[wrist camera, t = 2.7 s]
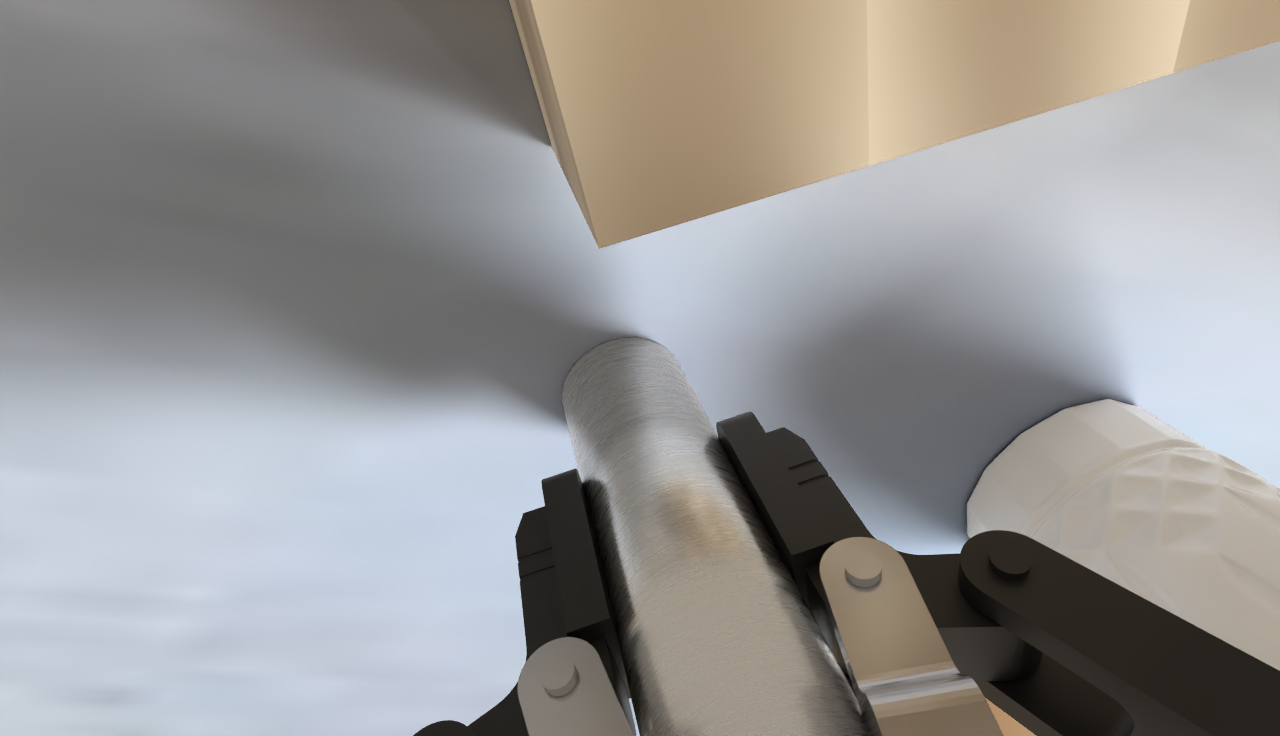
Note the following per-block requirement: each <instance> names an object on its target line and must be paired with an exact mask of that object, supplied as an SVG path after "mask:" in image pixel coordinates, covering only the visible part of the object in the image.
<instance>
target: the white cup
mask: <svg viewBox="0 0 1280 736" xmlns="http://www.w3.org/2000/svg"><path fill="white" fill-rule="evenodd" d="M991 530H1004V531H1011V532H1016V533H1020V534H1023V535H1025V536H1028V537H1030V538H1032V539H1034V540H1036V541H1038V542H1040V543H1041V544H1043V545H1045V546H1047V547H1049V548H1051V549H1053V550H1055V551H1056V552H1058V553H1060V554H1062V555H1064V556H1066V557H1068V558H1070V559H1071V560H1073V561H1075V562H1077V563H1079V564H1081V565H1083V566H1085V567H1086V568H1088V569H1090V570H1092V571H1094V572H1096V573H1098V574H1099V575H1101V576H1103V577H1105V578H1107V579H1109V580H1111V581H1113V582H1114V583H1116V584H1118V585H1120V586H1122V587H1124V588H1126V589H1128V590H1129V591H1131V592H1133V593H1135V594H1137V595H1139V596H1141V597H1143V598H1144V599H1146V600H1148V601H1150V602H1152V603H1154V604H1156V605H1158V606H1159V607H1161V608H1163V609H1165V610H1167V611H1169V612H1171V613H1173V614H1174V615H1176V616H1178V617H1180V618H1182V619H1184V620H1186V621H1188V622H1189V623H1191V624H1193V625H1195V626H1197V627H1199V628H1201V629H1203V630H1204V631H1206V632H1208V633H1210V634H1212V635H1214V636H1216V637H1217V638H1219V639H1221V640H1223V641H1225V642H1227V643H1229V644H1231V645H1232V646H1234V647H1236V648H1238V649H1240V650H1242V651H1244V652H1246V653H1247V654H1249V655H1251V656H1253V657H1255V658H1257V659H1259V660H1261V661H1262V662H1264V663H1266V664H1268V665H1270V666H1272V667H1274V668H1276V669H1277V670H1279V671H1280V489H1279V488H1277V487H1275V486H1273V485H1271V484H1270V483H1268V482H1267V481H1266V480H1264V479H1263V478H1262V477H1260V476H1259V475H1257V474H1256V473H1254V472H1252V471H1250V470H1249V469H1247V468H1245V467H1244V466H1242V465H1240V464H1238V463H1236V462H1235V461H1233V460H1231V459H1229V458H1227V457H1225V456H1223V455H1221V454H1219V453H1217V452H1215V451H1212V450H1208V449H1206V448H1205V447H1204V446H1202V445H1200V444H1199V443H1197V442H1196V441H1194V440H1193V439H1191V438H1190V437H1188V436H1186V435H1185V434H1183V433H1182V432H1180V431H1178V430H1177V429H1175V428H1174V427H1172V426H1170V425H1169V424H1167V423H1166V422H1164V421H1162V420H1161V419H1159V418H1158V417H1156V416H1154V415H1153V414H1151V413H1150V412H1148V411H1146V410H1145V409H1143V408H1141V407H1137V406H1134V405H1130V404H1126V403H1122V402H1119V401H1115V400H1111V399H1104V400H1100V401H1095V402H1091V403H1086V404H1082V405H1078V406H1073V407H1069V408H1065V409H1063V410H1061V411H1059V412H1058V413H1056V414H1054V415H1052V416H1050V417H1049V418H1047V419H1045V420H1043V421H1042V422H1040V423H1038V424H1036V425H1035V426H1033V427H1031V428H1030V429H1028V430H1026V431H1025V432H1023V433H1021V434H1020V435H1019V436H1018V437H1017V438H1016V439H1015V440H1014V441H1013V442H1012V443H1011V444H1010V445H1009V446H1007V447H1006V448H1005V449H1004V450H1003V451H1002V452H1001V453H1000V454H999V455H998V456H997V457H996V458H995V459H994V460H993V461H992V462H991V463H990V464H989V465H988V466H987V467H986V469H985V470H984V472H983V474H982V476H981V478H980V479H979V481H978V483H977V485H976V487H975V489H974V491H973V493H972V495H971V497H970V499H969V501H968V503H967V534H968V536H969V537H970V538H971V537H973V536H975V535H977V534H979V533H982V532H986V531H991Z"/></svg>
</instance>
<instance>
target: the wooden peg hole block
mask: <svg viewBox="0 0 1280 736" xmlns="http://www.w3.org/2000/svg"><path fill="white" fill-rule="evenodd" d="M509 2H510V5H511V9H512V12H513V16H514V19H515V23H516V26H517V29H518V33H519V36H520V40H521V43H522V46H523V50H524V53H525V57H526V60H527V64H528V67H529V70H530V74H531V77H532V81H533V84H534V87H535V91H536V94H537V98H538V101H539V104H540V108H541V111H542V115H543V118H544V122H545V125H546V128H547V132H548V135H549V139H550V142H551V145H552V149H553V151H554V153H555V155H556V157H557V159H558V162H559V164H560V166H561V168H562V170H563V172H564V174H565V177H566V179H567V181H568V183H569V185H570V187H571V189H572V192H573V194H574V196H575V198H576V200H577V202H578V204H579V206H580V209H581V211H582V213H583V215H584V217H585V219H586V221H587V224H588V226H589V228H590V230H591V232H592V234H593V236H594V239H595V241H596V243H597V245H598V247H599V248H602V247H606V246H609V245H612V244H616V243H619V242H622V241H625V240H629V239H632V238H635V237H638V236H642V235H645V234H648V233H652V232H655V231H658V230H661V229H665V228H668V227H671V226H674V225H678V224H681V223H684V222H688V221H691V220H694V219H697V218H701V217H704V216H707V215H710V214H714V213H717V212H720V211H724V210H727V209H730V208H733V207H737V206H740V205H743V204H746V203H750V202H753V201H756V200H760V199H763V198H766V197H769V196H773V195H776V194H779V193H782V192H786V191H789V190H792V189H796V188H799V187H802V186H805V185H809V184H812V183H815V182H819V181H822V180H825V179H828V178H832V177H835V176H838V175H841V174H845V173H848V172H851V171H855V170H858V169H861V168H864V167H868V166H871V165H874V164H877V163H881V162H884V161H887V160H891V159H894V158H897V157H900V156H904V155H907V154H910V153H913V152H917V151H920V150H923V149H927V148H930V147H933V146H936V145H940V144H943V143H946V142H949V141H953V140H956V139H959V138H963V137H966V136H969V135H972V134H976V133H979V132H982V131H985V130H989V129H992V128H995V127H999V126H1002V125H1005V124H1008V123H1012V122H1015V121H1018V120H1021V119H1025V118H1028V117H1031V116H1035V115H1038V114H1041V113H1044V112H1048V111H1051V110H1054V109H1057V108H1061V107H1064V106H1067V105H1071V104H1074V103H1077V102H1080V101H1084V100H1087V99H1090V98H1093V97H1097V96H1100V95H1103V94H1107V93H1110V92H1113V91H1116V90H1120V89H1123V88H1126V87H1129V86H1133V85H1136V84H1139V83H1143V82H1146V81H1149V80H1152V79H1156V78H1159V77H1162V76H1165V75H1169V74H1172V73H1175V72H1179V71H1182V70H1185V69H1188V68H1192V67H1195V66H1198V65H1201V64H1205V63H1208V62H1211V61H1215V60H1218V59H1221V58H1224V57H1228V56H1231V55H1234V54H1238V53H1241V52H1244V51H1247V50H1251V49H1254V48H1257V47H1260V46H1264V45H1267V44H1270V43H1274V42H1277V41H1280V0H509Z"/></svg>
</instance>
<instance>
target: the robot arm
mask: <svg viewBox="0 0 1280 736" xmlns="http://www.w3.org/2000/svg"><path fill="white" fill-rule="evenodd" d="M717 432H718V438H719V440H720V442H721V444H722V446H723V448H724V449H725V451H726V453H727V455H728V457H729V459H730V461H731V463H732V465H733V466H734V468H735V470H736V472H737V474H738V476H739V478H740V480H741V482H742V483H743V485H744V487H745V489H746V491H747V493H748V495H749V497H750V499H751V500H752V502H753V504H754V506H755V508H756V510H757V512H758V514H759V515H760V517H761V519H762V521H763V523H764V525H765V527H766V529H767V531H768V532H769V534H770V536H771V538H772V540H773V542H774V544H775V546H776V548H777V549H778V551H779V553H780V555H781V557H782V559H783V561H784V563H785V565H786V566H787V568H788V570H789V572H790V574H791V576H792V578H793V580H794V581H795V583H796V585H797V587H798V589H799V591H800V592H801V594H802V596H803V598H804V600H805V602H806V604H807V606H808V608H809V609H810V611H811V613H812V615H813V617H814V619H815V621H816V623H817V624H818V626H819V628H820V630H821V632H822V634H823V636H824V638H825V640H826V641H827V643H828V645H829V647H830V649H831V651H832V653H833V655H834V656H835V658H836V660H837V662H838V664H839V666H840V668H841V670H842V672H843V673H844V675H845V677H846V679H847V681H848V683H849V685H850V687H851V688H852V690H853V692H854V694H855V696H856V698H857V700H858V704H859V707H860V711H861V714H862V718H863V720H864V723H865V725H866V728H867V730H868V733H869V735H870V736H1004V735H1003V733H1002V731H1001V730H1000V727H999V725H998V723H997V721H996V719H995V717H994V715H993V713H992V711H991V709H990V707H989V705H988V703H987V701H986V699H985V698H987V699H988V700H989V701H991V702H992V703H993V704H995V705H996V706H997V707H999V708H1000V709H1002V710H1003V711H1004V712H1006V713H1007V714H1008V715H1010V716H1011V717H1012V718H1014V719H1015V720H1016V721H1018V722H1019V723H1020V724H1022V725H1023V726H1024V727H1026V728H1027V729H1028V730H1030V731H1031V732H1033V733H1034V734H1035V735H1037V736H1280V671H1279V670H1277V669H1276V668H1274V667H1272V666H1270V665H1268V664H1266V663H1264V662H1262V661H1261V660H1259V659H1257V658H1255V657H1253V656H1251V655H1249V654H1247V653H1246V652H1244V651H1242V650H1240V649H1238V648H1236V647H1234V646H1232V645H1231V644H1229V643H1227V642H1225V641H1223V640H1221V639H1219V638H1217V637H1216V636H1214V635H1212V634H1210V633H1208V632H1206V631H1204V630H1203V629H1201V628H1199V627H1197V626H1195V625H1193V624H1191V623H1189V622H1188V621H1186V620H1184V619H1182V618H1180V617H1178V616H1176V615H1174V614H1173V613H1171V612H1169V611H1167V610H1165V609H1163V608H1161V607H1159V606H1158V605H1156V604H1154V603H1152V602H1150V601H1148V600H1146V599H1144V598H1143V597H1141V596H1139V595H1137V594H1135V593H1133V592H1131V591H1129V590H1128V589H1126V588H1124V587H1122V586H1120V585H1118V584H1116V583H1114V582H1113V581H1111V580H1109V579H1107V578H1105V577H1103V576H1101V575H1099V574H1098V573H1096V572H1094V571H1092V570H1090V569H1088V568H1086V567H1085V566H1083V565H1081V564H1079V563H1077V562H1075V561H1073V560H1071V559H1070V558H1068V557H1066V556H1064V555H1062V554H1060V553H1058V552H1056V551H1055V550H1053V549H1051V548H1049V547H1047V546H1045V545H1043V544H1041V543H1040V542H1038V541H1036V540H1034V539H1032V538H1030V537H1028V536H1025V535H1023V534H1020V533H1016V532H1011V531H1004V530H991V531H986V532H982V533H979V534H977V535H975V536H973V537H971V538H970V539H969V540H968V541H967V542H966V543H965V545H964V546H963V548H962V550H961V554H940V555H913V554H907V553H903V552H899V551H896V550H895V549H894V548H892V547H891V546H889V545H888V544H886V543H884V542H882V541H879V540H877V539H876V538H874V537H873V536H872V535H871V533H870V532H869V531H868V530H867V528H866V527H865V525H864V524H863V523H862V521H861V520H860V518H859V517H858V515H857V514H856V513H855V511H854V510H853V508H852V507H851V505H850V504H849V503H848V501H847V500H846V498H845V497H844V496H843V494H842V493H841V491H840V490H839V488H838V487H837V486H836V484H835V483H834V481H833V480H832V478H831V477H829V476H828V473H827V471H826V470H825V468H824V467H823V466H822V464H821V463H820V462H819V461H818V459H817V457H816V456H815V454H814V453H813V451H812V450H811V448H810V447H809V446H808V444H807V443H806V441H805V440H804V439H802V438H801V437H799V436H797V435H796V434H794V433H792V432H791V431H789V430H787V429H786V428H784V427H783V428H780V429H777V430H774V431H771V432H768V433H765V431H764V430H763V428H762V426H761V425H760V423H759V422H758V420H757V418H756V417H755V415H754V414H753V413H752V412H747V413H744V414H741V415H738V416H735V417H732V418H729V419H726V420H723V421H720V422H717ZM542 489H543V495H544V502H545V506H544V507H541V508H538V509H535V510H532V511H529V512H526V513H523V516H522V519H521V522H520V525H519V527H518V530H517V533H516V536H515V538H516V548H517V558H518V561H519V563H518V568H519V577H520V580H521V581H520V587H521V597H522V607H523V617H524V626H525V636H526V646H527V657H526V663H525V665H524V667H523V668H522V670H521V673H520V676H519V680H518V682H517V684H516V686H515V687H514V688H513V690H512V691H511V692H510V693H509V694H508V695H507V696H506V697H505V699H504V700H502V701H501V702H500V703H499V704H497V705H496V706H495V707H493V708H492V709H491V710H489V711H488V712H487V713H485V714H484V715H482V716H481V717H480V718H478V719H477V720H476V721H474V722H473V723H471V724H470V725H469V726H466V725H464V724H462V723H460V722H457V721H452V720H448V721H440V722H436V723H433V724H430V725H428V726H426V727H425V728H423V729H421V730H420V731H419V732H417V733H416V734H415V735H413V736H636V730H635V725H634V720H633V716H632V712H631V707H630V703H629V698H631V694H630V690H629V686H628V682H627V677H626V673H625V669H624V664H623V660H622V656H621V649H620V640H619V636H618V632H617V627H616V623H615V619H614V615H613V611H612V606H611V602H610V598H609V594H608V589H607V585H606V581H605V577H604V572H603V568H602V564H601V560H600V555H599V551H598V547H597V543H596V539H595V534H594V530H593V526H592V522H591V517H590V513H589V509H588V505H587V500H586V496H585V492H584V488H583V483H582V481H581V478H580V475H579V473H578V471H577V469H573V470H570V471H567V472H564V473H561V474H558V475H555V476H552V477H549V478H546V479H543V480H542Z"/></svg>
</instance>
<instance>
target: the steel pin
mask: <svg viewBox="0 0 1280 736" xmlns="http://www.w3.org/2000/svg"><path fill="white" fill-rule="evenodd" d="M562 402H563V408H564V412H565V416H566V420H567V425H568V429H569V433H570V438H571V442H572V446H573V450H574V455H575V459H576V463H577V468H578V472H579V475H580V478H581V481H582V483H583V488H584V492H585V496H586V500H587V505H588V509H589V513H590V517H591V522H592V526H593V530H594V534H595V539H596V543H597V547H598V551H599V555H600V560H601V564H602V568H603V572H604V577H605V581H606V585H607V589H608V594H609V598H610V602H611V606H612V611H613V615H614V619H615V623H616V627H617V632H618V636H619V640H620V649H621V656H622V660H623V664H624V669H625V673H626V677H627V682H628V686H629V690H630V694H631V699H632V703H633V707H634V712H635V716H636V720H637V724H638V729H639V733H640V736H870V735H869V733H868V730H867V728H866V725H865V723H864V720H863V718H862V714H861V711H860V707H859V704H858V700H857V698H856V696H855V694H854V692H853V690H852V688H851V687H850V685H849V683H848V681H847V679H846V677H845V675H844V673H843V672H842V670H841V668H840V666H839V664H838V662H837V660H836V658H835V656H834V655H833V653H832V651H831V649H830V647H829V645H828V643H827V641H826V640H825V638H824V636H823V634H822V632H821V630H820V628H819V626H818V624H817V623H816V621H815V619H814V617H813V615H812V613H811V611H810V609H809V608H808V606H807V604H806V602H805V600H804V598H803V596H802V594H801V592H800V591H799V589H798V587H797V585H796V583H795V581H794V580H793V578H792V576H791V574H790V572H789V570H788V568H787V566H786V565H785V563H784V561H783V559H782V557H781V555H780V553H779V551H778V549H777V548H776V546H775V544H774V542H773V540H772V538H771V536H770V534H769V532H768V531H767V529H766V527H765V525H764V523H763V521H762V519H761V517H760V515H759V514H758V512H757V510H756V508H755V506H754V504H753V502H752V500H751V499H750V497H749V495H748V493H747V491H746V489H745V487H744V485H743V483H742V482H741V480H740V478H739V476H738V474H737V472H736V470H735V468H734V466H733V465H732V463H731V461H730V459H729V457H728V455H727V453H726V451H725V449H724V448H723V446H722V444H721V442H720V440H719V438H718V436H717V434H716V432H715V430H714V429H713V427H712V425H711V423H710V421H709V419H708V417H707V415H706V414H705V412H704V410H703V408H702V406H701V404H700V402H699V400H698V398H697V397H696V395H695V393H694V391H693V389H692V387H691V385H690V383H689V382H688V380H687V378H686V376H685V374H684V372H683V370H682V368H681V366H680V365H679V363H678V361H677V359H676V358H675V357H674V355H673V354H672V353H671V352H670V351H669V350H667V349H666V348H665V347H663V346H662V345H660V344H658V343H656V342H653V341H650V340H646V339H642V338H621V339H616V340H612V341H608V342H606V343H603V344H600V345H598V346H597V347H595V348H593V349H591V350H590V351H588V352H587V353H586V354H584V355H583V356H582V357H581V358H580V359H579V360H578V361H577V362H576V363H575V364H574V365H573V367H572V368H571V370H570V371H569V373H568V375H567V377H566V379H565V382H564V386H563V390H562Z"/></svg>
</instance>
